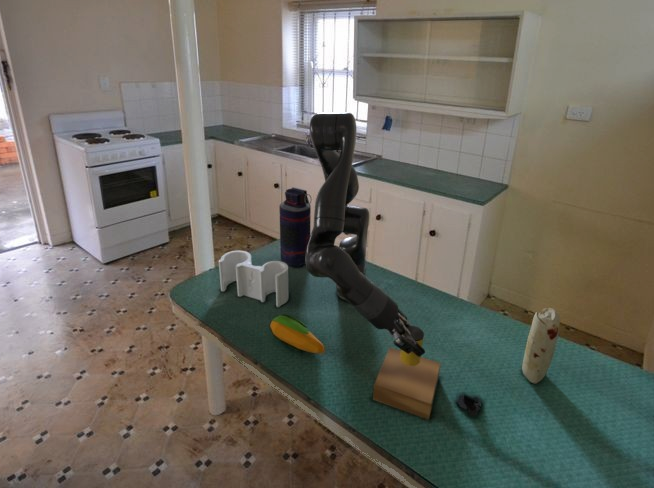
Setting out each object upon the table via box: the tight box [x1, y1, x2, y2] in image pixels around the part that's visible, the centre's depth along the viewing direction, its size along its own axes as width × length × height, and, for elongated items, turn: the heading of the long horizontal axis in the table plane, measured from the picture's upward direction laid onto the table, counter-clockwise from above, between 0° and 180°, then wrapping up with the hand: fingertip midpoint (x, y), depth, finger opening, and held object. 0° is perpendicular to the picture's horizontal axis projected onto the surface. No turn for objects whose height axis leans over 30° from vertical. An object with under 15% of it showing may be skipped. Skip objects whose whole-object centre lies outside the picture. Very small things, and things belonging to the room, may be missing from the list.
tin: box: [400, 325, 425, 366], centre depth 100 cm, size 5×5×8 cm
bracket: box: [218, 249, 290, 308], centre depth 140 cm, size 25×10×12 cm, turn 67°
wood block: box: [372, 346, 442, 420], centre depth 104 cm, size 14×14×5 cm
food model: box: [521, 307, 561, 384], centre depth 107 cm, size 10×7×20 cm
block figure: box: [456, 394, 482, 418], centre depth 100 cm, size 6×2×6 cm
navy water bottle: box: [278, 186, 312, 268], centre depth 158 cm, size 14×12×30 cm
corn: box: [269, 314, 326, 354], centre depth 117 cm, size 7×8×20 cm
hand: (419, 345), depth 100 cm, fingers closed on tin, 5 cm apart
